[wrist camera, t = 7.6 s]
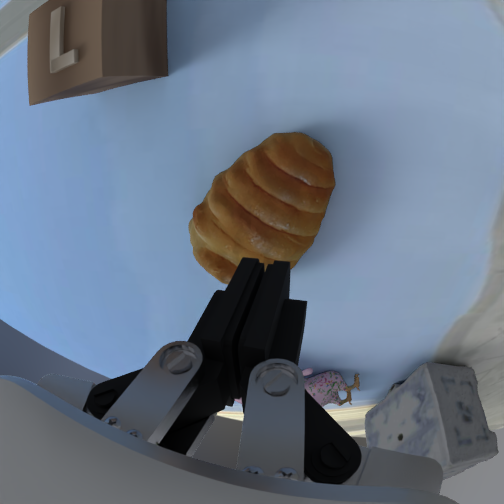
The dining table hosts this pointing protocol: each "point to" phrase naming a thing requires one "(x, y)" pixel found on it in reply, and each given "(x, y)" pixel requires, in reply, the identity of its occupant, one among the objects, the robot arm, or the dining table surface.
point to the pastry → (264, 205)
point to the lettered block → (94, 46)
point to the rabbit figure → (326, 387)
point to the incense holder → (434, 419)
